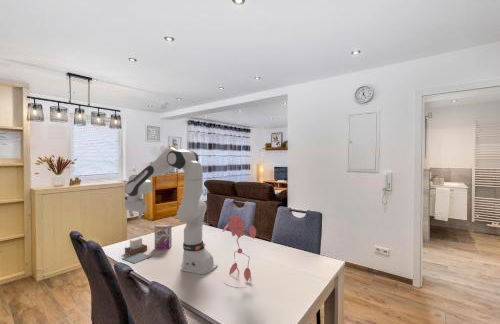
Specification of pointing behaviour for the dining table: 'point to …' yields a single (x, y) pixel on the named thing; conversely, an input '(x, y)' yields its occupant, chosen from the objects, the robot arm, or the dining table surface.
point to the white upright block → (136, 243)
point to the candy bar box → (163, 236)
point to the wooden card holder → (135, 250)
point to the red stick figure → (237, 229)
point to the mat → (136, 257)
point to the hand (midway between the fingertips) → (135, 217)
